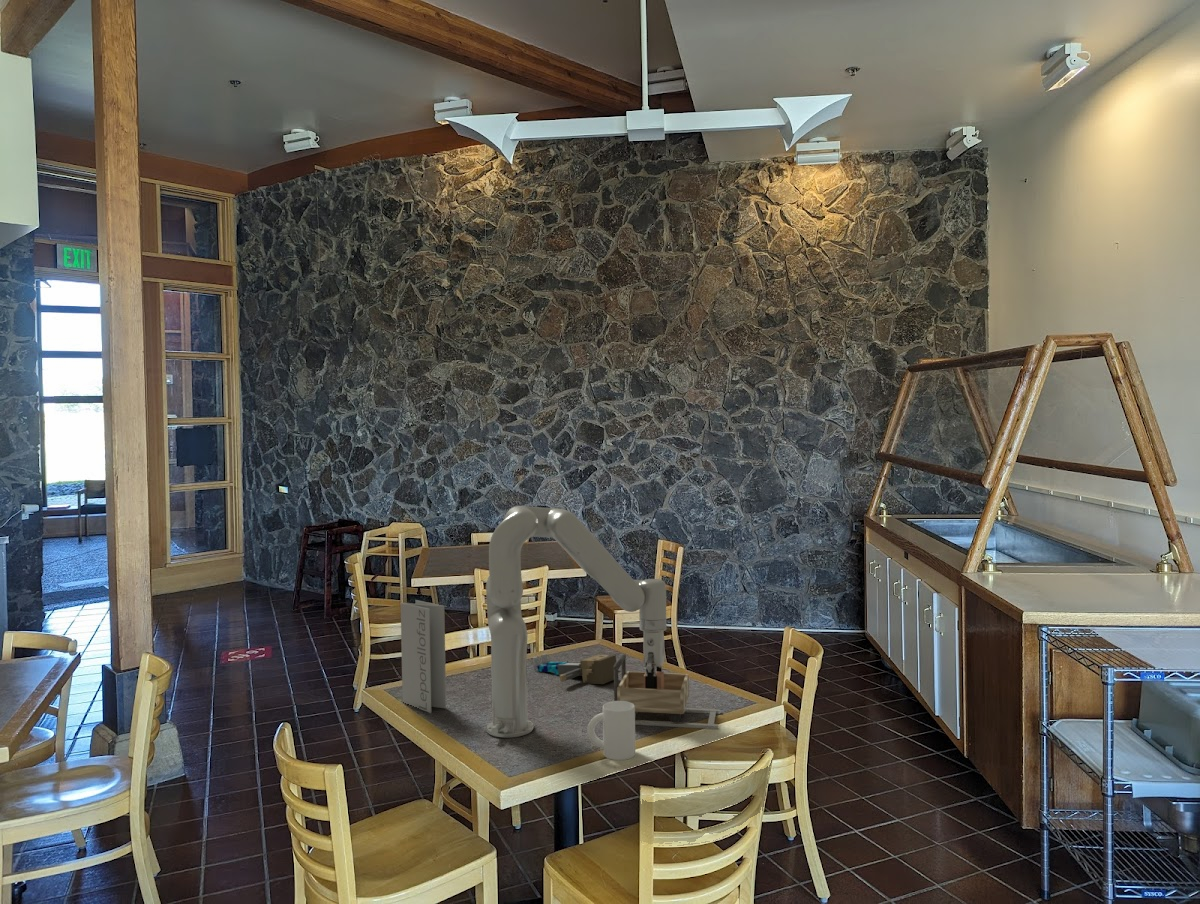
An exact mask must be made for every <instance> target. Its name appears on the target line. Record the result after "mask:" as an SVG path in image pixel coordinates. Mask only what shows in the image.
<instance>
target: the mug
mask: <svg viewBox="0 0 1200 904" xmlns="http://www.w3.org/2000/svg"><path fill="white" fill-rule="evenodd" d="M635 720H636V717H635V706H634V704H633V703H630V702H627V701H614V700H611V701H608V702H607V701H606V702H605V703H604V704H603V705H602V712H600V713H598V714H596V715H594V716H593V717H592V718H591V719H590V720H589V722H588V724H587V726H586V727H587V728H586V735H587V737H588V739H589V741H590V742H591V743H592V744H593V746H596V747H597V748H600V749H602V751H603V753H602V754H603V756H604V757H605V758H606V759H609V760H612V761H613V760H614V761H624V760H625V761H626V760H629V759H632V758H634V757H635V756H636V725H635ZM601 721H602V739H600V738H599V737H598V735H596V732H595V730H596V729H595V728H596V727H597V725H598V723H601Z"/></svg>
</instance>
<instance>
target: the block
mask: <svg viewBox="0 0 1200 904" xmlns="http://www.w3.org/2000/svg"><path fill="white" fill-rule="evenodd" d="M644 672H645V674H644V676H643V686H644V688H645V675H646V671H644ZM664 673H665V671H662V672H660V671H656V676H657V689H664Z"/></svg>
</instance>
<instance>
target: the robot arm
mask: <svg viewBox="0 0 1200 904" xmlns="http://www.w3.org/2000/svg"><path fill="white" fill-rule="evenodd" d="M533 537H536V538H552V539H554V540H555V542H556V543H557V544H558V545H559V546H560V547H561V548H562V549H563V550H564V551H565V552H566V553H567V555H569V556H570V558H572V560H573V561H574V562H575V563H576V564H577V565H578V567H580V568H581V569H582V571H583V572H585V573H586V574H587V575H588V576H590V578H592V579H593V580H594V581H595V582H597V583H598V585H600V586H601V587H602V588H603V590H605V591H606V593H608V595H609V596H610V598H611V600H612V601H613V602H614V603H615V604H616V605H617V606H618V607H619V608H621V609H622V610H623V611H625V612H628V613H633V612H637V611H639V630H640V631H642V632H643V647H642V648H643V649H642V650H643V651H642V652H643V665H644V667H645V672H646V675H645V688H646V689H657V676H656V671H660V672H663V669H662V667H663V665H664V663H665V660H666V652H665V634H664V632H665V631H666V630H667V586H666V585H667V584H666V582H665V581H664V580H662V579H660V578H647V579H646V578H645V579H633V577H632V576H631V575H630V574H629V573H628V572H627V571H626V570H625V569H624V567H622V565H620V564H619V562H618V561H617V560H616V559H615V558H614V557H613V556H612V554H611V553H610V552H609V551H608V550H607V548H605V546H604V545H603V544H602V543H601V542H600V541H599V540H598V538H596V536H594V534H593V533H592V532H591V531H590V530H589V529H588V528H587V526H585V525H584V523H583V522H582V521H581V520H580V518H578V517H577V515H575V514H574V513H572V512H571V511H569V510H567V509H565V508H559V507H557V508H556V507H555V508H554V507H543V506H542V507H541V506H528V505H526V506H525V505H516V506H513V507H511V508H510V509H509V510H508V511H506V514H505V516H504V519H503V520H502V521H501V522H500V523H499V524H498V525H497V527H496V528H495V529H494V531H493V533H492V535H491V537H490V541H489V544H488V546H489V547H488V572H489V576H488V578H487V580H486V584H485V585H486V586H485V590H486V591H485V593H486V610H487V611H486V613H487V624H488V625H487V626H488V630H489V634H490V644H491V646H490V647H491V648H490V656H491V658H490V659H491V660H490V665H491V666H490V667H491V668H490V669H491V671H490V672H491V673H490V674H491V710H492V711H491V712H492V713H491V715H492V721H491V722H489V723H487V725H486V732H487V733H488V734H489V735H490V736H492V737H496V738H505V739H508V738H509V739H510V738H511V739H512V738H520V737H521V736H526V735H528V734H530V733H531V732H533V730H534V725H535V724H534V723H533V722H532V721H531V720H529V718H528V709H529V708H528V707H529V706H528V668H527V667H528V665H527V663H528V661H527V658H528V657H527V652H528V650H527V649H528V628H527V625H526V623H525V620H524V618H523V616H522V614H523V613H522V597H523V594H524V586H523V580H522V579H523V578H522V568H521V565H522V564H521V562H522V561H521V560H522V559H521V558H522V556H521V555H522V554H521V552H522V547H523V546H524V544H525V542H526V541H527V540H529V539H531V538H533Z"/></svg>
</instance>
